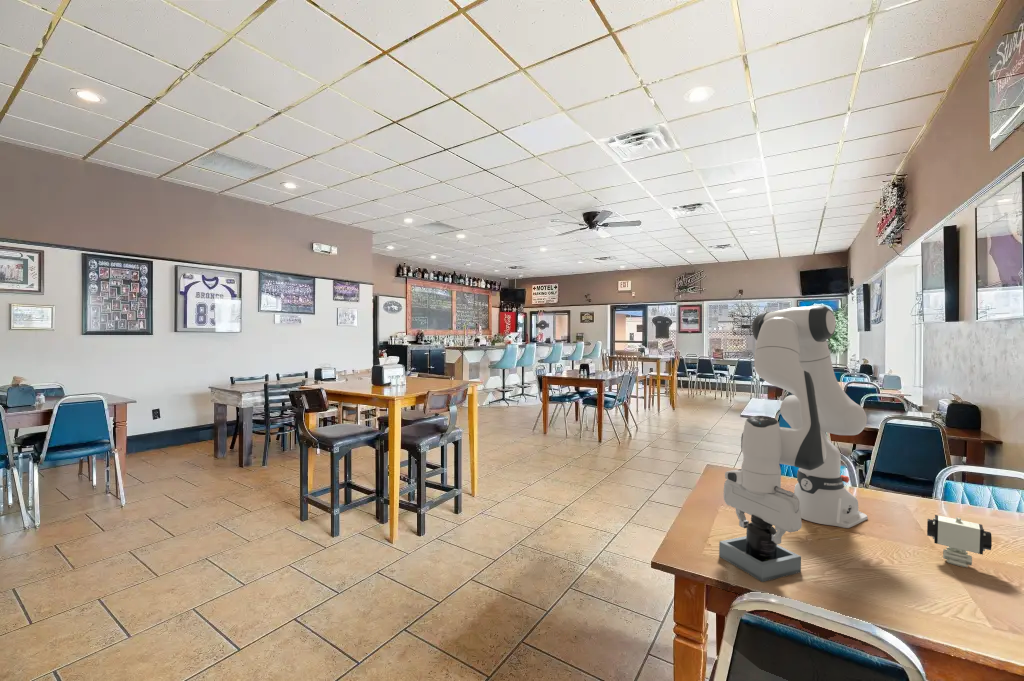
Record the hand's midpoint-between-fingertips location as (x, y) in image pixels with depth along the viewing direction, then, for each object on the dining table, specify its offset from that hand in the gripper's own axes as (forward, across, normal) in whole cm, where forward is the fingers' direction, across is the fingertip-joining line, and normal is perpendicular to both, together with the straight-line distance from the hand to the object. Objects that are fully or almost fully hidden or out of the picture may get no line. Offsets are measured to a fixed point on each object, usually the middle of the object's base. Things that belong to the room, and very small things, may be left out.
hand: (759, 534), depth 115 cm
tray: (+8, 0, 0) cm, 8 cm away
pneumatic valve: (+8, -17, -50) cm, 53 cm away
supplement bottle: (+7, -1, 0) cm, 7 cm away
